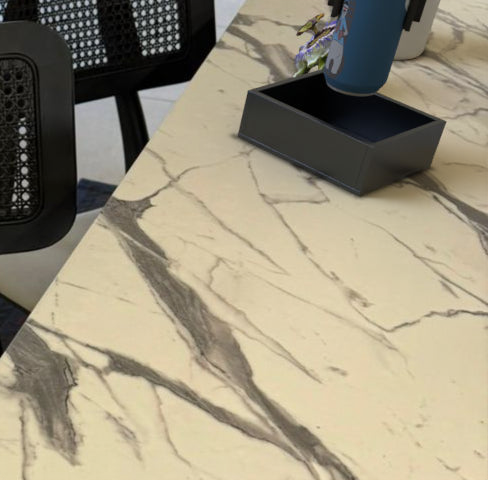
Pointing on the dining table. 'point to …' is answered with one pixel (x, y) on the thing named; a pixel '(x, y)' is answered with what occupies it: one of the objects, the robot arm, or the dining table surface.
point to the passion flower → (314, 46)
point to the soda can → (364, 45)
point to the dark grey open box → (340, 132)
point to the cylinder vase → (417, 33)
